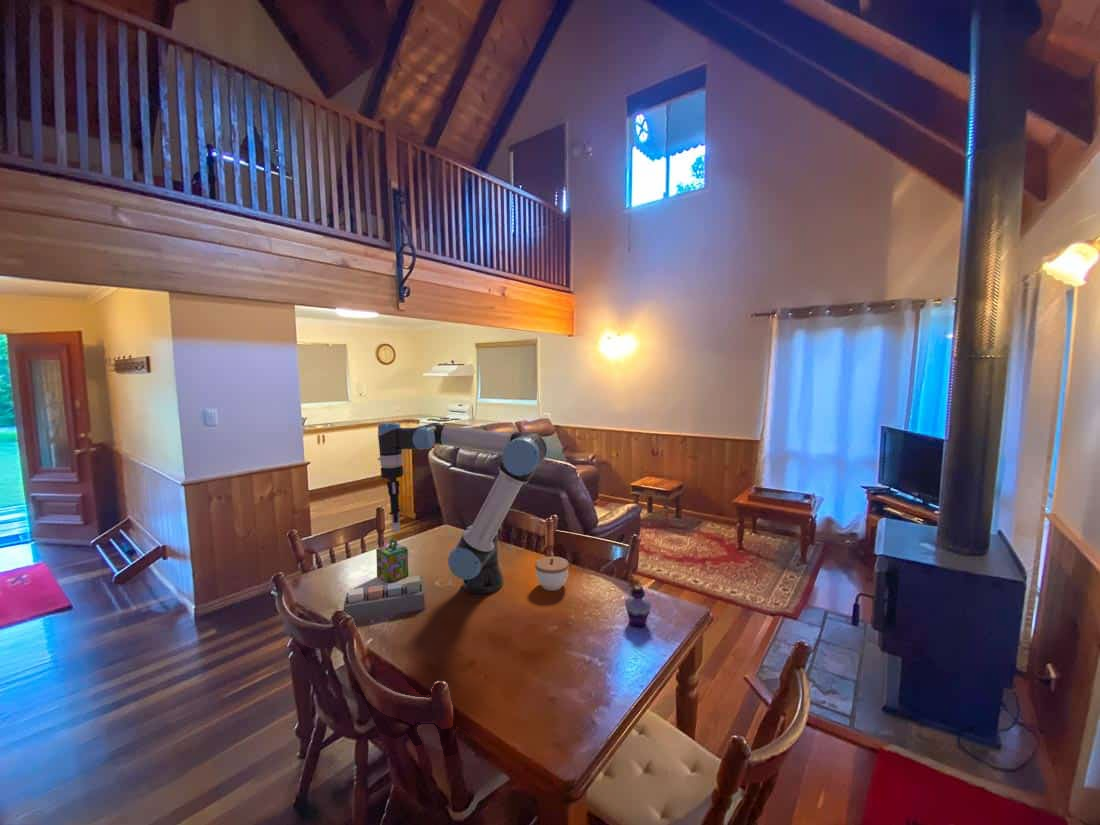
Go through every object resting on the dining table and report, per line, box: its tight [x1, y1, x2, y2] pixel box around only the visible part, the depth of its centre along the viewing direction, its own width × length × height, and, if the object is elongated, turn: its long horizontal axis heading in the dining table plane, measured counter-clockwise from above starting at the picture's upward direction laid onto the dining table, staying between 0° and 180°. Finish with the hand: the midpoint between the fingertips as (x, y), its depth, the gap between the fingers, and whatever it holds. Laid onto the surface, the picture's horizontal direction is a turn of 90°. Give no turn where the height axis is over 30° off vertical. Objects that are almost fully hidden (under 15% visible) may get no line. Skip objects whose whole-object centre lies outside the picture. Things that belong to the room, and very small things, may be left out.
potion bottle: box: [624, 585, 652, 629], centre depth 146 cm, size 9×9×12 cm
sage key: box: [405, 575, 421, 594], centre depth 160 cm, size 4×4×5 cm
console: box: [343, 580, 426, 622], centre depth 158 cm, size 25×10×6 cm, turn 108°
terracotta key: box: [367, 584, 384, 600], centre depth 157 cm, size 4×4×5 cm
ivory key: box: [348, 587, 364, 603], centre depth 155 cm, size 4×4×5 cm
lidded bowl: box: [534, 556, 570, 592], centre depth 172 cm, size 13×13×11 cm
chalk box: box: [375, 538, 410, 584], centre depth 182 cm, size 9×9×15 cm
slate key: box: [387, 581, 402, 597], centre depth 158 cm, size 4×4×5 cm
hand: (396, 530), depth 164 cm, fingers closed
